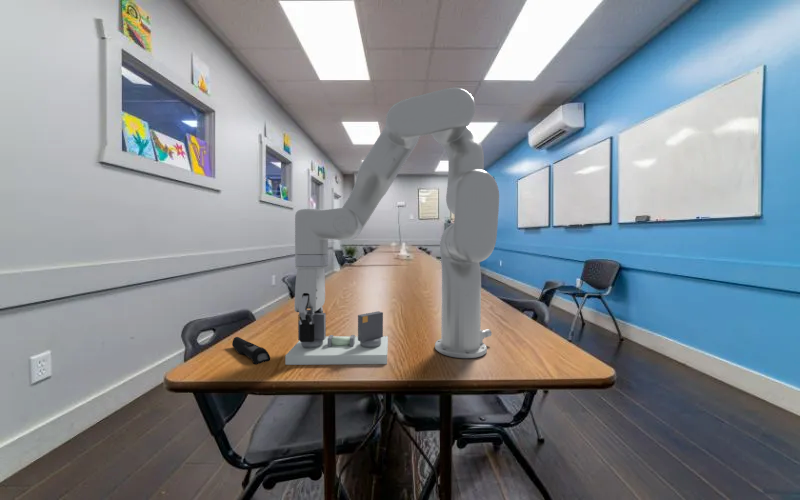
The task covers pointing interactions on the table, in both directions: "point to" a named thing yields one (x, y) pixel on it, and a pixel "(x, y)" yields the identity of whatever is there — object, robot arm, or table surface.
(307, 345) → the knob
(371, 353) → the level plate
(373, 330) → the knob
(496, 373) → the table surface
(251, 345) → the electric trimmer
